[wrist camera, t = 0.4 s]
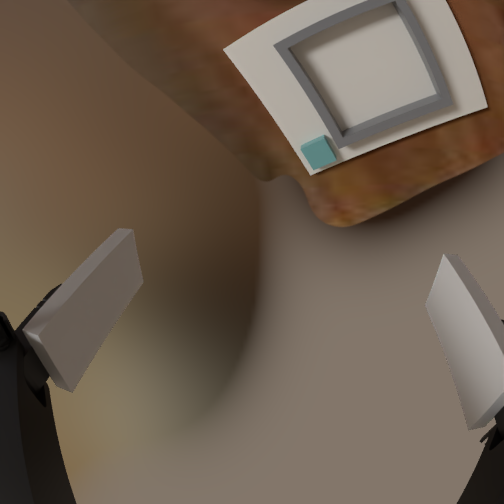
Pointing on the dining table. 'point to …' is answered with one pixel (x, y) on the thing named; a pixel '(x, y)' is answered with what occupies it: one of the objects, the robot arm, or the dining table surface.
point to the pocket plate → (358, 74)
